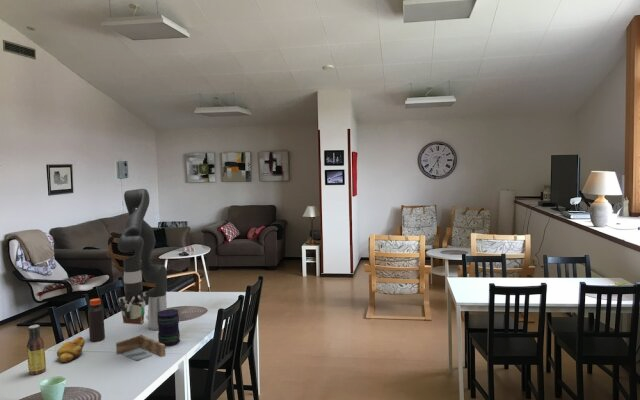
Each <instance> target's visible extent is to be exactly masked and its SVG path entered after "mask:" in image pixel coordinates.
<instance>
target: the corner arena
mask: <svg viewBox="0 0 640 400" xmlns="http://www.w3.org/2000/svg"><path fill="white" fill-rule="evenodd" d="M115 348H116V354H117V355H120V354H121V355H122V356H124V357H126V358H129V359H131V360H133V361H135V362H139V361H141V360H143V359H147V358H149V357H153V354H151V353H154V354H156V355H158V356H161V357H164V356H166V347H165V344H162V343H160V342H159V341H157V340H155V339H152V338H150V337H148V336H145V335H142V334H140V335H137V336H133V337H131V338H126V339H123V340H121V341H118V342H116V343H115ZM139 348H140V349H139ZM141 348H142V349H145V350H146V351H149V352H151V353H149V352H146V351H144V350H142V349H141Z"/></svg>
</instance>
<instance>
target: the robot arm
mask: <svg viewBox="0 0 640 400" xmlns="http://www.w3.org/2000/svg"><path fill="white" fill-rule="evenodd" d="M123 199H124V203H125V207H126V210H127V213H128V218H127V219H126V223H125V227H124V231H123V233H122V234H121V235H120V237H119V238H118V242H117V249H118V251H120V252H121V253H134V255H132V256H128V257H126V258H124V259H123V263H122V264H123V288H124V289H123V291H124V296H122V297H118V298H117V300H118V307H119V311H121V312H122V311H124V312H125V318H126V319H127V320H129V319H130V311H129V310H130V307H131V306H132V303H136V302H142V299H144V301H145V304H146V305H145V306H144V308H145V307H146V306H147V321H148V322H147V323H148V328H149V330H152V331H159V328H158V321H157V313H158V312H160V311H162V310H167V309H168V307H167V289H168V271H167V267H166V266H165V265H163V264H153V261H152V253H153V250H154V249H155V247H156V240H157V239H156V237H155V232H154V229H153V227H152V226H151V225H150V224H149V223H148V222H147V221H145V220H144V218H145V217H146V213H147V211H148V208H149V205H150V201H151V200H150V194H149V191H148V190H147V189H146V188H137V189H130V190H129V189H128V190H126V191H124V193H123ZM143 279H144V280H143ZM143 281H145V282H147V283H153V284H154V283H155V287H152V288H150V289H148V291H147V290H145V291H143ZM142 297H143V298H142ZM125 300H127V301H126V303H125V305H124V302H125ZM127 303H129V304H127ZM144 314H145V311H144Z"/></svg>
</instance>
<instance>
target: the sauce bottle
mask: <svg viewBox="0 0 640 400" xmlns="http://www.w3.org/2000/svg"><path fill="white" fill-rule="evenodd" d="M40 327H41V326H40V324H33V325H30V326H28V329H27V330H28V335H29V336H28V337H29V338H28V340H27V343H26V352H27V365H28V371H29V375H33V376H34V375H40V374H42V373H45V371H47V367H46V366H47V362H46V361H47V359H46V349H45V341H44V339H43V338H42V336H41V333H40V332H41V331H40V330H41V328H40Z"/></svg>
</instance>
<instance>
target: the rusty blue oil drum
mask: <svg viewBox="0 0 640 400" xmlns="http://www.w3.org/2000/svg"><path fill="white" fill-rule="evenodd" d="M179 319H180V316H179V310H178V309H174V308H172V309H171V308H170V309H168V308H167V310H162V311H160V312H158V313H157V321H158V328H159V330H158V333H157V338H158V342H160V343H162V344H165V348H167V347H173V346H176V345H179V343H180V342H181V341H180V339H181V338H180V336H181V335H180V329H179V328H180V327H179V325H180V324H179V323H180V320H179Z"/></svg>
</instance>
